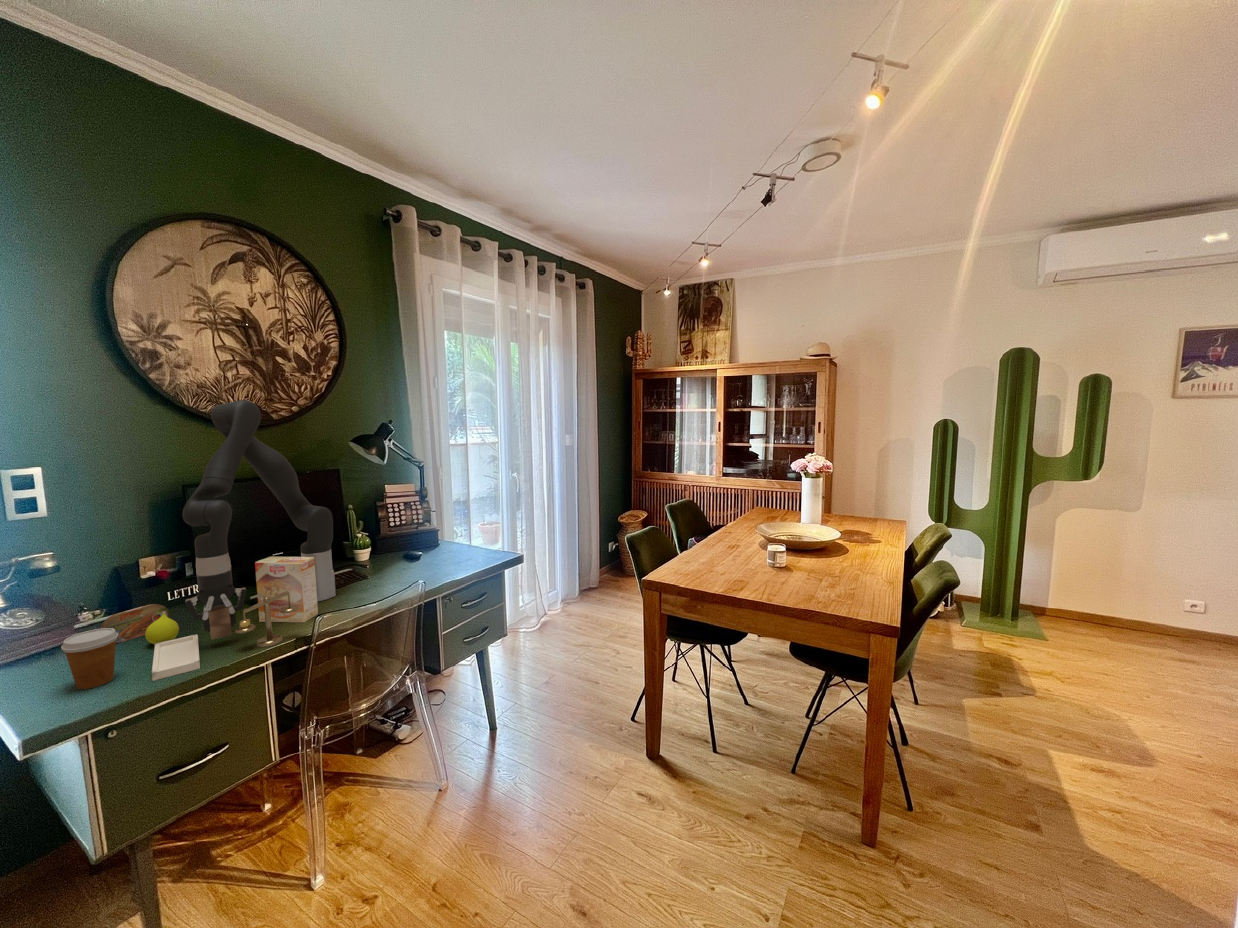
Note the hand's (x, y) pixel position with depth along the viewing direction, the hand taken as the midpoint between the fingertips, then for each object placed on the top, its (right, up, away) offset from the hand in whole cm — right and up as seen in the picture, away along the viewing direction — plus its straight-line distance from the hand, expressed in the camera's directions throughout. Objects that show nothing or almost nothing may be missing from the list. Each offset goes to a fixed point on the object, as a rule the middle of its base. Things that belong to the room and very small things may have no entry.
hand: (220, 628), depth 141 cm
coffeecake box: (+7, -3, +19) cm, 20 cm away
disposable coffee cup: (-15, -7, -19) cm, 25 cm away
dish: (-5, -6, -8) cm, 11 cm away
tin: (-30, -5, +6) cm, 31 cm away
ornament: (-17, -5, +1) cm, 18 cm away
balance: (+13, -5, +1) cm, 14 cm away
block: (0, -2, 0) cm, 2 cm away
